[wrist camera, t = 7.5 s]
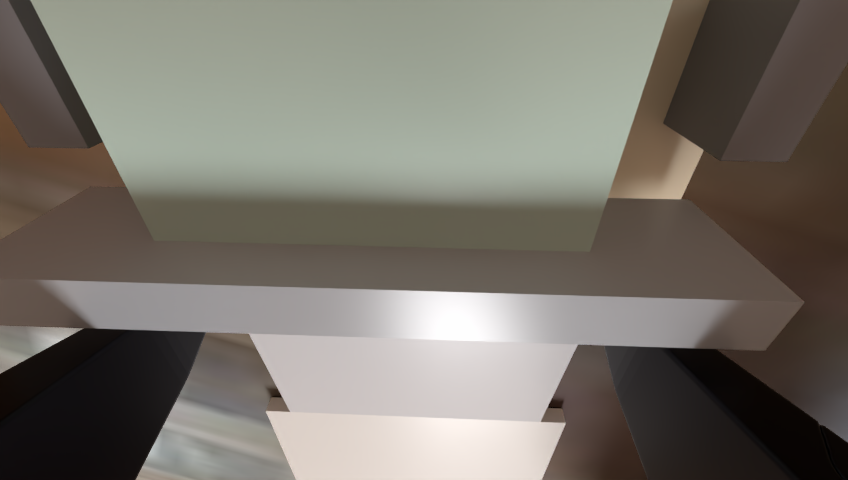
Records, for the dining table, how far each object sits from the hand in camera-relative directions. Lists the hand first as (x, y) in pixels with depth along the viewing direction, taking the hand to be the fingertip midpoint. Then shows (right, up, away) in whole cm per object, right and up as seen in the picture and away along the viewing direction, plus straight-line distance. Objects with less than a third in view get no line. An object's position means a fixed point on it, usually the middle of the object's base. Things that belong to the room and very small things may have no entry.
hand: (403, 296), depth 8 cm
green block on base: (0, +6, -2) cm, 6 cm away
